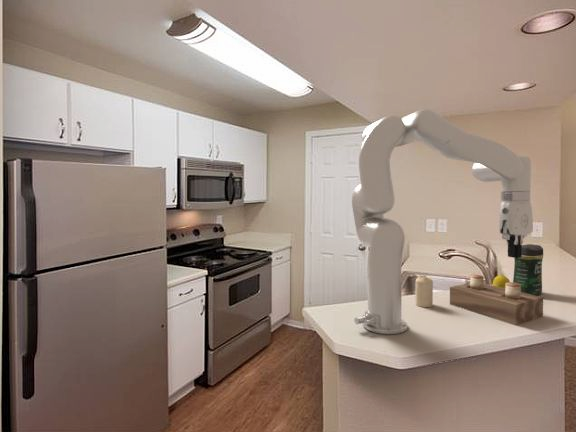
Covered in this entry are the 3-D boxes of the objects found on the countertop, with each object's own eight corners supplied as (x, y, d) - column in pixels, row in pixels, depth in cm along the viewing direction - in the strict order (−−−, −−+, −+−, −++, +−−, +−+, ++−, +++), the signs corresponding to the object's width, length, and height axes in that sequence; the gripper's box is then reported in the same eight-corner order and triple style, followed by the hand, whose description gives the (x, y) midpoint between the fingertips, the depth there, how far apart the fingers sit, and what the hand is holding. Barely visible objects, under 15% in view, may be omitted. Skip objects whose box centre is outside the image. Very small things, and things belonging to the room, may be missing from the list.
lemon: (498, 298, 126) (499, 276, 125) (489, 294, 131) (489, 273, 131) (513, 298, 126) (514, 276, 125) (503, 293, 131) (504, 272, 131)
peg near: (515, 304, 105) (515, 286, 105) (502, 301, 109) (502, 283, 109) (523, 302, 107) (523, 284, 107) (510, 299, 111) (510, 281, 110)
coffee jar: (530, 298, 125) (532, 247, 124) (508, 292, 132) (509, 244, 131) (546, 294, 129) (547, 244, 128) (524, 289, 136) (525, 242, 135)
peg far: (478, 294, 116) (478, 278, 116) (467, 292, 120) (467, 275, 119) (485, 293, 118) (486, 276, 117) (474, 290, 121) (475, 274, 121)
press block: (515, 325, 101) (515, 304, 100) (449, 304, 120) (449, 287, 120) (542, 316, 107) (543, 297, 107) (476, 298, 127) (476, 281, 126)
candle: (434, 307, 117) (434, 278, 116) (416, 307, 118) (416, 278, 118) (430, 302, 122) (430, 274, 122) (414, 302, 124) (414, 274, 123)
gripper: (513, 198, 99) (512, 262, 100) (542, 196, 106) (541, 256, 107) (487, 198, 106) (487, 258, 107) (517, 196, 113) (516, 252, 114)
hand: (514, 256), depth 107 cm, fingers closed
